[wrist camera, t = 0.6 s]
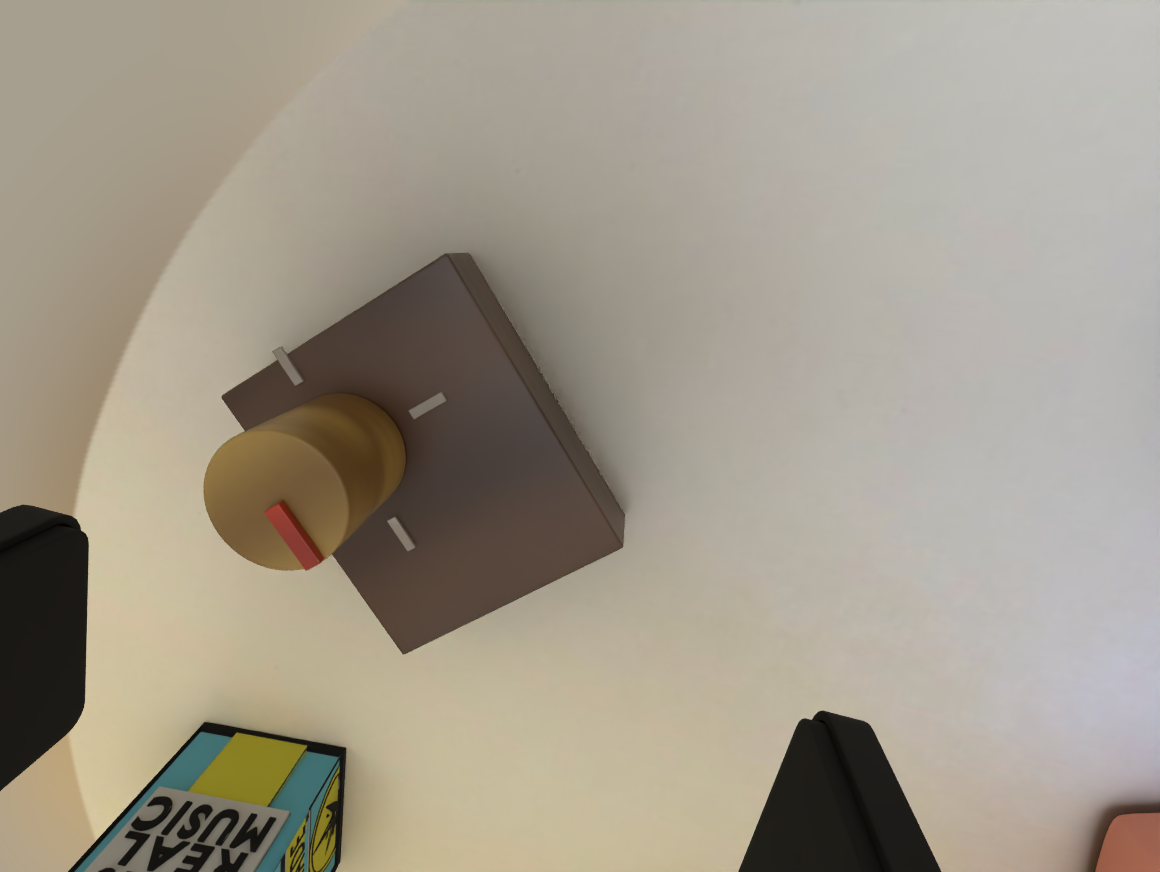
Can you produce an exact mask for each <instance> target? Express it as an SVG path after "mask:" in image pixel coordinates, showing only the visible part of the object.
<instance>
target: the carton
mask: <svg viewBox="0 0 1160 872" xmlns="http://www.w3.org/2000/svg"><path fill="white" fill-rule="evenodd" d="M345 759H346V748H342V747H336V746H331V745H325V744H320V743H315V742H309V741H304V740H298V739H293V738H288V737H282V736H277V735H271V734H266V733H261V732H255V731H250V730H244V729H239V728H234V727H228V726H223V725H217V724H212V723H207V722H204V723H203V724H202V725H201V727H200V728H199V729H198V730H197V731H196V732H195V733H194V734H193V735H192V736H191V738H190V739H189V740H188V741H187V742H186V743H185V744H184V745H183V746H182V747H181V748H180V750H179V751H178V752H177V753H176V754H175V755H174V756H173V757H172V758H171V759H170V761H169V762H168V763H167V764H166V765H165V766H164V767H163V768H162V769H161V770H160V771H159V773H158V774H157V775H156V776H155V777H154V778H153V779H152V780H151V781H150V782H149V784H148V785H147V786H146V787H145V788H144V789H143V790H142V791H141V792H140V793H139V794H138V796H137V797H136V798H135V799H134V800H133V801H132V802H131V803H130V804H129V805H128V807H127V808H126V809H125V810H124V811H123V812H122V813H121V814H120V815H119V816H118V817H117V819H116V820H115V821H114V822H113V823H112V824H111V825H110V826H109V827H108V828H107V830H106V831H105V832H104V833H103V834H102V835H101V836H100V837H99V838H98V839H97V840H96V842H95V843H94V844H93V845H92V846H91V847H90V848H89V849H88V850H87V852H86V853H85V854H84V855H83V856H82V857H81V858H80V859H79V860H78V861H77V862H76V864H75V865H74V866H73V867H72V868H71V869H70V870H69V871H68V872H335V871H336V869H337V867H338V865H339V863H340V857H341V837H342V818H343V798H344V779H345Z"/></svg>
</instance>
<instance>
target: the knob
mask: <svg viewBox="0 0 1160 872" xmlns="http://www.w3.org/2000/svg"><path fill="white" fill-rule="evenodd" d="M405 464H406V453H405V446H404V442H403V439H402V436H401V434H400V432H399V430H398V428H397V426H396V424H395V423H394V422H393V420H392V419H391V418H390V417H389V416H388V415H387V413H386V412H385V411H383V410H382V409H381V408H380V407H379V406H377V405H376V404H374V403H372V402H371V401H369V400H367V399H365V398H362V397H359V396H356V395H352V394H346V393H332V394H327V395H323V396H320V397H317V398H315V399H313V400H311V401H309V402H307V403H304V404H302V405H300V406H298V407H296V408H294V409H292V410H290V411H287V412H285V413H283V414H281V415H279V416H277V417H275V418H272V419H270V420H268V421H266V422H264V423H262V424H260V425H258V426H255V427H253V428H251V429H249V430H247V431H245V432H243V433H241V434H238V435H237V436H235V437H233V438H231V439H229V440H228V441H227V442H225V443H224V444H223V445H222V446H221V447H220V448H219V449H218V450H217V451H216V453H215V454H214V456H213V457H212V459H211V461H210V463H209V465H208V468H207V470H206V473H205V479H204V501H205V505H206V509H207V512H208V515H209V517H210V520H211V522H212V524H213V526H214V527H215V529H216V530H217V532H218V533H219V535H220V536H221V537H222V539H223V540H224V541H225V542H226V543H227V544H228V545H229V546H230V547H231V548H232V549H233V550H234V551H236V552H237V553H238V554H240V555H241V556H243V557H244V558H246V559H247V560H249V561H251V562H253V563H255V564H258V565H261V566H263V567H266V568H271V569H275V570H299V569H305V570H306V571H307V570H309V569H311V568H313V567H314V566H316V565H318V564H320V563H321V562H322V561H323V560H325V559H327V558H328V557H329V556H330V555H331V554H332V553H334V552H335V551H336V550H337V549H338V548H339V547H340V546H341V545H342V544H343V543H344V542H345V541H346V540H347V539H348V538H349V537H350V536H351V535H352V534H353V533H354V532H355V531H356V530H357V529H358V528H359V527H360V526H361V525H362V524H363V523H364V522H365V521H366V520H367V519H368V518H369V517H370V516H371V515H372V514H373V513H374V512H375V511H376V510H377V509H378V508H379V507H380V506H381V505H382V504H383V503H384V502H385V501H386V500H387V499H388V498H389V497H390V496H391V495H392V493H393V492H394V491H395V490H396V489H397V487H398V485H399V484H400V482H401V480H402V477H403V474H404V470H405Z"/></svg>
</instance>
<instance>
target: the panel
mask: <svg viewBox="0 0 1160 872" xmlns="http://www.w3.org/2000/svg"><path fill="white" fill-rule="evenodd" d="M272 352H273V354H274V355H275V357H276V358H277V361H275V362H274V363H272V364H271V365H269V366H267V367H266V368H264V369H263V370H261V371H259V372H258V373H256V374H255V375H253V376H252V377H250V378H248V379H247V380H245V381H244V382H242V383H241V384H239V385H237V386H236V387H234V388H233V389H231V390H229V391H228V392H226V393H225V394H223V395H222V399H223V401H224V402H225V403H226V405H227V406H228V408H229V409H230V411H231V412H232V413H233V415H234V416H235V418H236V419H237V420H238V422H239V423H240V425H241V426H242V428H243V429H244V430H245V431H247V430H249V429H251V428H253V427H255V426H258V425H260V424H262V423H264V422H266V421H268V420H270V419H272V418H275V417H277V416H279V415H281V414H283V413H285V412H287V411H290V410H292V409H294V408H296V407H298V406H300V405H302V404H304V403H307V402H309V401H311V400H313V399H315V398H317V397H320V396H323V395H327V394H332V393H346V394H352V395H356V396H359V397H362V398H365V399H367V400H369V401H371V402H372V403H374V404H376V405H377V406H379V407H380V408H381V409H382V410H383V411H385V412H386V413H387V415H388V416H389V417H390V418H391V419H392V420H393V422H394V423H395V424H396V426H397V428H398V430H399V432H400V434H401V436H402V439H403V442H404V446H405V453H406V464H405V470H404V474H403V477H402V480H401V482H400V484H399V485H398V487H397V489H396V490H395V491H394V492H393V493H392V495H391V496H390V497H389V498H388V499H387V500H386V501H385V502H384V503H383V504H382V505H381V506H380V507H379V508H378V509H377V510H376V511H375V512H374V513H373V514H372V515H371V516H370V517H369V518H368V519H367V520H366V521H365V522H364V523H363V524H362V525H361V526H360V527H359V528H358V529H357V530H356V531H355V532H354V533H353V534H352V535H351V536H350V537H349V538H348V539H347V540H346V541H345V542H344V543H343V544H342V545H341V546H340V547H339V548H338V549H337V550H336V551H335V552H334V553H332V555H333V556H334V558H335V559H336V560H337V562H338V563H339V565H340V566H341V567H342V569H343V570H344V572H345V573H346V575H347V576H348V577H349V579H350V580H351V582H352V583H353V584H354V586H355V587H356V589H357V590H358V592H359V593H360V594H361V596H362V597H363V599H364V600H365V601H366V603H367V604H368V606H369V607H370V608H371V610H372V611H373V613H374V614H375V616H376V617H377V618H378V620H379V621H380V623H381V624H382V625H383V627H384V628H385V630H386V631H387V633H388V634H389V635H390V637H391V638H392V640H393V641H394V642H395V644H396V645H397V647H398V648H399V649H400V651H401V652H402V654H406V653H408V652H410V651H412V650H414V649H416V648H418V647H420V646H422V645H424V644H427V643H429V642H431V641H433V640H435V639H437V638H439V637H441V636H443V635H445V634H447V633H449V632H451V631H453V630H455V629H457V628H459V627H461V626H463V625H465V624H467V623H470V622H472V621H474V620H476V619H478V618H480V617H482V616H484V615H486V614H488V613H490V612H492V611H494V610H496V609H498V608H500V607H502V606H504V605H506V604H508V603H510V602H512V601H515V600H517V599H519V598H521V597H523V596H525V595H527V594H529V593H531V592H533V591H535V590H537V589H539V588H541V587H543V586H545V585H547V584H549V583H551V582H553V581H555V580H558V579H560V578H562V577H564V576H566V575H568V574H570V573H572V572H574V571H576V570H578V569H580V568H582V567H584V566H586V565H588V564H590V563H592V562H594V561H596V560H598V559H600V558H603V557H605V556H607V555H609V554H611V553H613V552H615V551H617V550H619V549H621V548H622V547H623V542H624V524H625V515H624V513H623V511H622V510H621V508H620V506H619V505H618V503H617V501H616V500H615V498H614V496H613V495H612V493H611V491H610V489H609V488H608V486H607V484H606V483H605V481H604V479H603V478H602V476H601V474H600V473H599V471H598V469H597V468H596V466H595V464H594V463H593V461H592V459H591V457H590V456H589V454H588V452H587V451H586V449H585V447H584V446H583V444H582V442H581V441H580V439H579V437H578V436H577V434H576V432H575V431H574V429H573V427H572V425H571V424H570V422H569V420H568V419H567V417H566V415H565V414H564V412H563V410H562V409H561V407H560V405H559V404H558V402H557V400H556V398H555V397H554V395H553V393H552V392H551V390H550V388H549V387H548V385H547V383H546V382H545V380H544V378H543V377H542V375H541V373H540V372H539V370H538V368H537V366H536V365H535V363H534V361H533V360H532V358H531V356H530V355H529V353H528V351H527V350H526V348H525V346H524V345H523V343H522V341H521V340H520V338H519V336H518V334H517V333H516V331H515V329H514V328H513V326H512V324H511V323H510V321H509V319H508V318H507V316H506V314H505V313H504V311H503V309H502V308H501V306H500V304H499V302H498V301H497V299H496V297H495V296H494V294H493V292H492V291H491V289H490V287H489V286H488V284H487V282H486V281H485V279H484V277H483V275H482V274H481V272H480V270H479V269H478V267H477V265H476V264H475V262H474V260H473V259H472V257H471V255H470V254H469V253H450V254H444V255H443V256H441V257H439V258H438V259H436V260H435V261H433V262H431V263H430V264H428V265H427V266H425V267H424V268H422V269H420V270H419V271H417V272H416V273H414V274H413V275H411V276H409V277H408V278H406V279H405V280H403V281H402V282H400V283H398V284H397V285H395V286H394V287H392V288H390V289H389V290H387V291H386V292H384V293H383V294H381V295H379V296H378V297H376V298H375V299H373V300H372V301H370V302H368V303H367V304H365V305H364V306H362V307H360V308H359V309H357V310H356V311H354V312H353V313H351V314H349V315H348V316H346V317H345V318H343V319H342V320H340V321H338V322H337V323H335V324H334V325H332V326H330V327H329V328H327V329H326V330H324V331H323V332H321V333H319V334H318V335H316V336H315V337H313V338H312V339H310V340H308V341H307V342H305V343H304V344H302V345H301V346H299V347H297V348H296V349H294V350H293V351H291V352H289V353H288V354H287V353H286V352H285V350H284V349H283V347H282V346H281V347H279V348H277V349H276V350H274V351H272Z"/></svg>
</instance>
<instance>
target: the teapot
mask: <svg viewBox="0 0 1160 872" xmlns="http://www.w3.org/2000/svg"><path fill="white" fill-rule="evenodd" d="M1095 872H1160V813H1135V814H1125V815H1118V816H1117V817H1116V818H1115V819H1114V820H1113V821H1112V823H1111V825H1110V826H1109V829H1108V831H1107V834H1106V836H1105V839H1104V842H1103V845H1102V849H1101V852H1100V856H1099V859H1098V863H1097V867H1096V871H1095Z"/></svg>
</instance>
